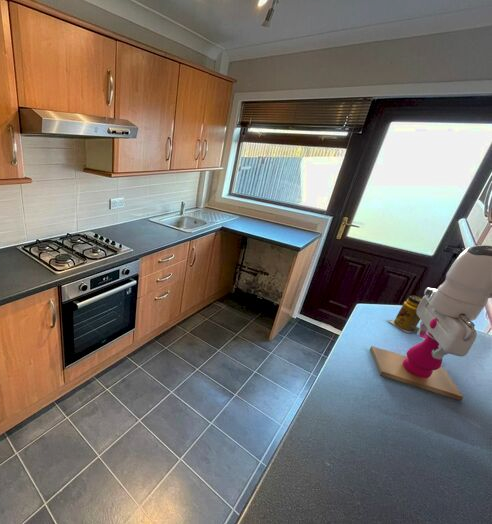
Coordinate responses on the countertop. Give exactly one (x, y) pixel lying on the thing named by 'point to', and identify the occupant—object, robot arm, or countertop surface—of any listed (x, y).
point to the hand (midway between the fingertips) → (428, 346)
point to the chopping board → (394, 369)
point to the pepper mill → (423, 356)
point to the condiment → (408, 315)
